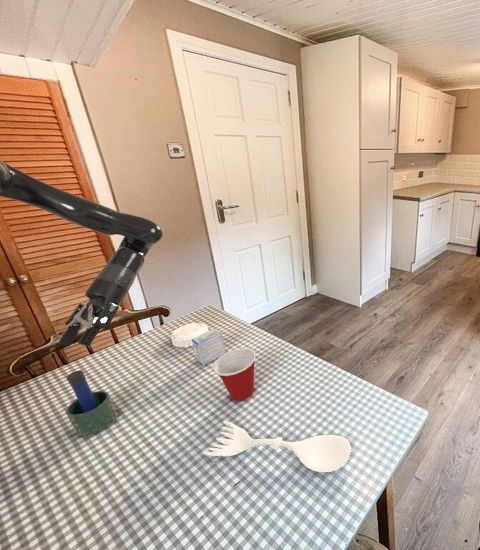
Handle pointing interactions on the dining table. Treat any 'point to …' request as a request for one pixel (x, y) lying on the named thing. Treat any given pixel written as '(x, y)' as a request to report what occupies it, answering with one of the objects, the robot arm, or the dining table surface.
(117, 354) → the dining table surface
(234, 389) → the plastic cup
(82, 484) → the dining table surface
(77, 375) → the marker
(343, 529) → the dining table surface
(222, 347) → the medicine box
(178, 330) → the mooncake
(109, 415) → the tumbler
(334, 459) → the white spork
